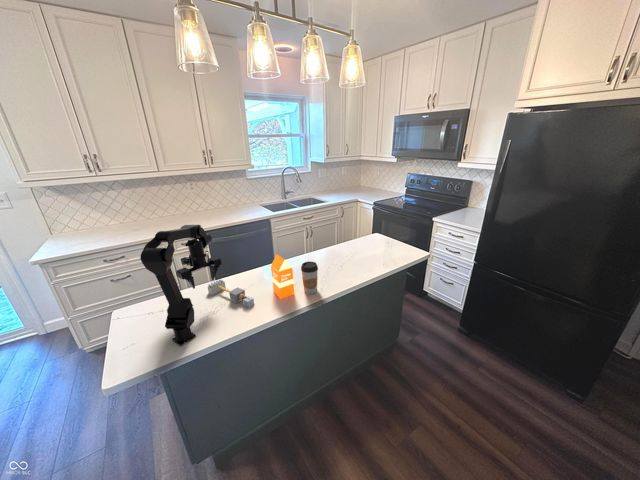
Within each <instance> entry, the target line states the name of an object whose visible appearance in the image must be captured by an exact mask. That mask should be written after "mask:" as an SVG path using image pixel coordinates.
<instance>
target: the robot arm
mask: <svg viewBox="0 0 640 480" xmlns="http://www.w3.org/2000/svg"><path fill="white" fill-rule="evenodd" d="M184 239H188V240H187V242H186V243H185V247H188V252H189V255H188V258H187V256H184V257H181V258H180V263H181V264H182V266H185V265H186V266H187V267H188V266H189V267H190V268H187V267H183V268H180V269H177V270H176V272H175V274H176V277H177V278H179V279H180V280H185V281H187V282H188V284H189V285H190V286H191V288H192V289H193V290H194V289H196V283H195V279H194V278H195V277H194V276H192V275H193V273H194V272H197V271H200V270H203V269H204V268H205V269H206V268H207V267H208V269H209V274H210V278H211V280H212V281H214V280H215V278H216V275H217V272H218V270H219V268H220V267H221V265H223V260H222V259H221V258H220V257H217V256H212V257H209V258H207V254H206V253H205V248H207V247H208V246H210V245H211V243H212V241H213V237H212V236H211V235H210V234H209V233H207V230H205V229H204V228H203V226H202V225H201V224H184V225H182V226H180V228H177V229H176V228H175V229H170V230H160V231H157V232H156V233H155V235H154V236H153V238H152V239H151V240H149V241H148V242H147V243H146V244H145V245H144V248H143V249H142V251H141V253H140V257H139V258H140V261H141V264H142V265H143V266H144V267H145V269H146V270H147V271H148V272H151V273H152V274H153V275H155V277H156V280H157V282H158V285H159V286H160V289H161V290H162V292H163V296H165V299H166V301H167V303H168V306H167V309H166V313H167V316H166V319H165V320H166V321H165V324H164V327H165V328H166V330H172V332H173V334H174V337H173V338H171V341H173V342H174V343H175V344H177V345H178V346H183V345H185V344H186V343H189V342H190V341H191V340H193V339H194V338H196V337H197V334H196V333H194V332H192V329H191V327H192V326H193V324H194V323H195V309H194V307H193V306H194V304H193V303H192V300H191V298H189V297H183V295H182V292H181V290H180V287H179V285H178V283H177V280H176V278H175V275H174V274H173V271H172V268H171V267H172V265H173V263H174V262H173V260H174V259H173V256H174V253H175V251H176V249H175V245H174V242H175V241H179V240H184ZM162 243H167V247H159V246H160V245H161V244H162ZM206 258H207V259H206Z"/></svg>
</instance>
